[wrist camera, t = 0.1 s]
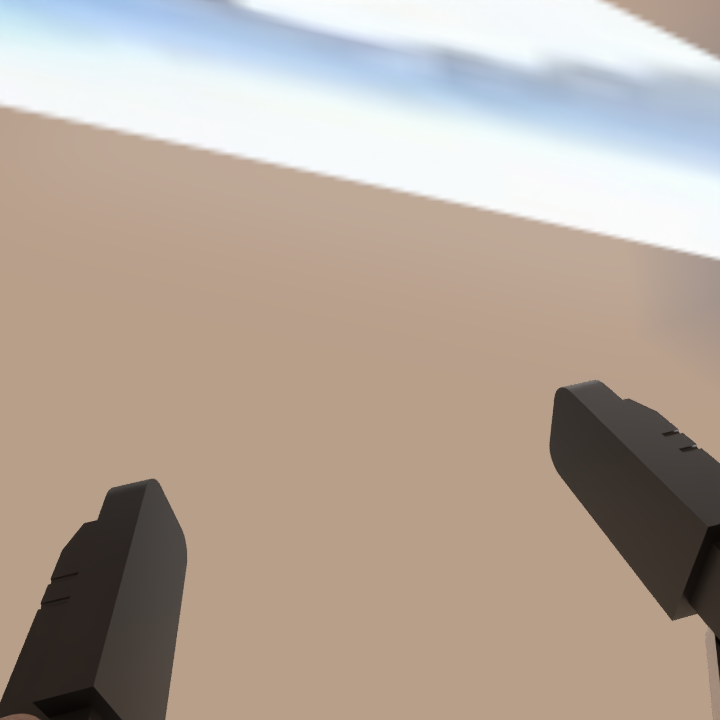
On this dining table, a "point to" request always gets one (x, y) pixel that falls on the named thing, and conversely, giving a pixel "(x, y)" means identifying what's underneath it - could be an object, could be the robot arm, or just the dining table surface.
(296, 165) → the dining table surface
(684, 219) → the dining table surface
